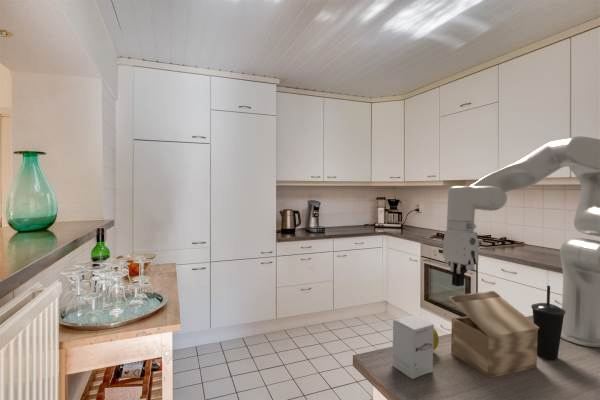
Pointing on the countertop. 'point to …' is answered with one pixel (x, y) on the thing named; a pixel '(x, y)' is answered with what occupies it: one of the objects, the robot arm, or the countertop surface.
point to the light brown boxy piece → (493, 349)
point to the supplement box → (413, 346)
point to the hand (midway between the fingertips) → (457, 285)
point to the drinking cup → (548, 328)
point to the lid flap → (493, 314)
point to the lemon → (435, 340)
